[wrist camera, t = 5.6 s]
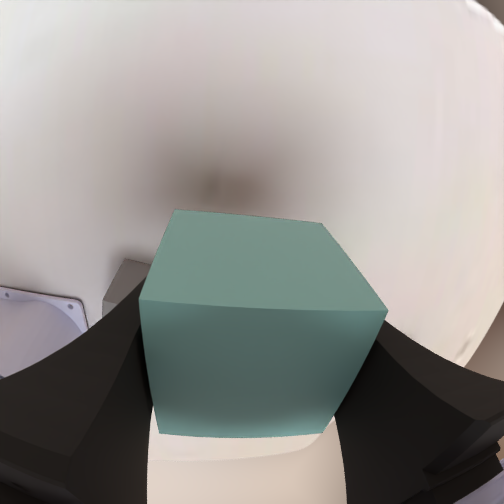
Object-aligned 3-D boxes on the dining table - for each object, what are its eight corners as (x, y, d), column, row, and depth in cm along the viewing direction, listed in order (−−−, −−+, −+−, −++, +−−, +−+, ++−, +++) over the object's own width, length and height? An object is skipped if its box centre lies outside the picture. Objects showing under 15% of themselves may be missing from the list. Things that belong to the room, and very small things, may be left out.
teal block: (173, 327, 12) (159, 433, 7) (174, 209, 10) (138, 299, 5) (292, 333, 12) (322, 432, 8) (321, 223, 10) (388, 310, 6)
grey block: (120, 312, 21) (103, 358, 17) (125, 257, 19) (102, 300, 15) (181, 327, 22) (175, 376, 18) (194, 274, 20) (189, 321, 16)
